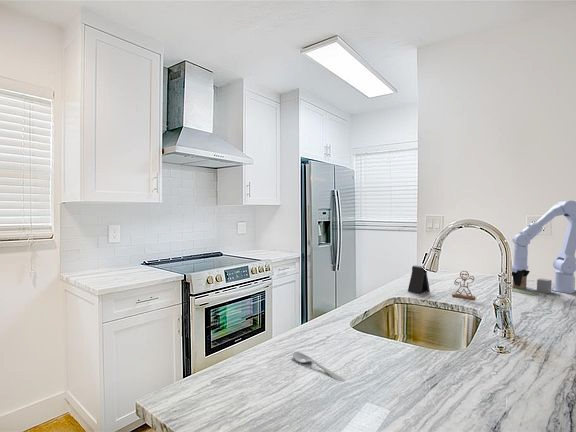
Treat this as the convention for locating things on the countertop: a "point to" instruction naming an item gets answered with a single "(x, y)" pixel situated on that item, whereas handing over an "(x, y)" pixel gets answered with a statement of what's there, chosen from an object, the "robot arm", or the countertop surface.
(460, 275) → the grey figurine
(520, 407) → the countertop surface
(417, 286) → the phone stand
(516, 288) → the blue card
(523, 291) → the rubber mat
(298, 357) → the spoon
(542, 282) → the grey block
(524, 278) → the walnut block
